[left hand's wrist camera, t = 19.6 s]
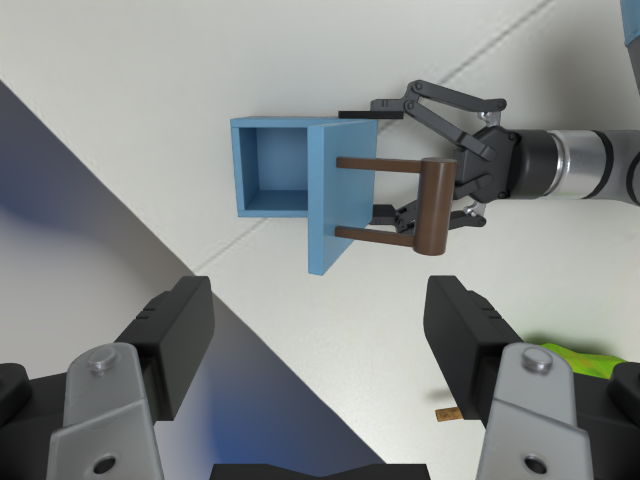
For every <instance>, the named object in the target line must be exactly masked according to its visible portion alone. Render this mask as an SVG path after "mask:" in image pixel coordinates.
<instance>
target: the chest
mask: <svg viewBox="0 0 640 480" xmlns="http://www.w3.org/2000/svg"><path fill="white" fill-rule="evenodd" d="M360 120H370V119H339V118H338V117H244V118H235V119H230V122H231V136H232V148H233V161H234V174H235V186H236V199H237V210H238V217H308V145H307V127H308V126H310V125H320V124H330V123H340V122H350V121H360Z"/></svg>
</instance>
